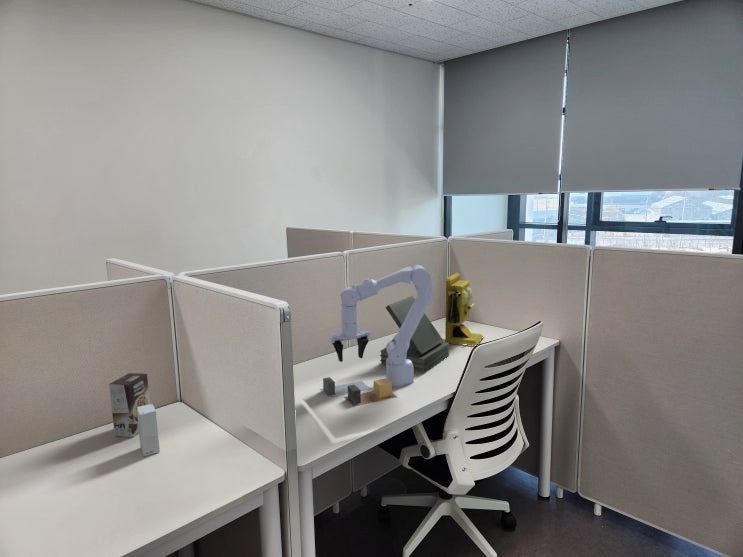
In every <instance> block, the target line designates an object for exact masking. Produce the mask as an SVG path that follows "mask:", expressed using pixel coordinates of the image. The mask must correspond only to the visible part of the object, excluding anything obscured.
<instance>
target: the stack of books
mask: <svg viewBox="0 0 743 557" xmlns="http://www.w3.org/2000/svg"><path fill="white" fill-rule="evenodd" d="M415 299H416V298H415V297H414V296H413V295H411V296H408V297H405V298H403V299H401V300H397V301H395V302H393V303H391V304H388V305H387V306H385V309H386V311H387V312H388V314H389V315H390V317H391V318H392V319H393V321H394V323H395V324H396V325H397V326H398V330H400V328H401V326H402V324H403V322H404V320H405V318H406V316H407V314H408V312H409V310H410V308H411V306H412V304H413V302H414V301H415ZM444 340H445V339H443V338H442V336H441V335H440V333H439V331H438V330H437V329H436V327H435V326H434V325H433V323H432V322H431V320H430V319H429V316H427V315H426V313H424V315H423V317H422V318H421V320H420V322H419V324H418V326H417V328H416V330H415V332H414V334H413V336H412V338H411V340H410V343H409V348H408V350H407V357H406V359H409V360H411V362H412V364H413V367H414V373H418V374H423V375H425V374H426V373H427V372H429V371H430V370H432V369H434V368H435V367H436V366H438V365H439V364H440V363H441V361H442V362H443V361H445V360H446V359H448V358H449V357H448V356H450V344H449V343H446V342H445V341H444ZM379 356H380V365H381V366H385V367H386V359H387V358H388V353H387V351H386V347H385V348H383V349H381V350H380V355H379ZM447 357H448V358H447ZM445 358H446V359H445ZM444 359H445V360H444ZM437 364H438V365H437ZM434 366H435V367H434Z"/></svg>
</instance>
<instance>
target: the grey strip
mask: <svg viewBox="0 0 743 557" xmlns="http://www.w3.org/2000/svg"><path fill="white" fill-rule="evenodd" d="M322 383H323V384H322V388H320V389H319V390H320V391H321V393H322V394H323V395H324V396H325V397H326V398H327V399H330V398H334V397H338V396H344V395H348V386H349V385H355V386H357V387H358V388H359V389H360V390H361V392H362V391H364V392H365V391H367V390H372V388H370V386H368V385H367V384H366V383H365V382H363V380H359V381H354V382H350V383H345V384H339V385H336V382H335V381H334V380H333V378H331V377H330V376H328V377H324V378H322Z"/></svg>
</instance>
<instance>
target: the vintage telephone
mask: <svg viewBox="0 0 743 557" xmlns="http://www.w3.org/2000/svg"><path fill="white" fill-rule="evenodd" d="M472 297H473V290H472V288H471V287H470V281H469V280H462V279H461V274H460V273H459V272H456V273H454V274H452V275H451V276H448V277H447V278H446V280H445V335H444V336H445V339H444V340H445V341H444V342H446V343H455V344H454V345H456V344H458V345H457V346H459V347H460V348H465V347H469V346H468V345H473V346H475V345H477V344H478V345H479V344H480V343H481V342H480V340H481V339H482V337H483V336H484V335H483V334H481V333H476V332H475V333H474V332H471V331H470V329H469V328H468V327H467V326H466V325H465V324H463V323H464V322H465V321H467V319H469V315H470V309H472V308H473V307H474V306H475V305H476V304H475V303H472V304H470V301H471V300H472ZM482 340H483V339H482ZM482 340H481V341H482ZM479 342H480V343H479ZM459 344H467V345H466V346H464V345H463V346H462V345H459ZM478 345H477V346H478Z"/></svg>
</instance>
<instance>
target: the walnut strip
mask: <svg viewBox="0 0 743 557" xmlns="http://www.w3.org/2000/svg"><path fill="white" fill-rule="evenodd" d="M394 398H398V396H397V394H395V393H393V392H392V396H387V397H383V398H379V397H378V396H377V395H375V394H374V390H372V391H367V392H362V391H361V390H360V389H359V388H358V387H357V386H355V385H349V386H348V394H347V396H344V399H345V400H346V401H347V402H348V403H349V404H350V405H351V406H352V407H357V406H361V405H362V406H363V405H366V404H371V403H376V402H381V401H385V400H390V399H394Z"/></svg>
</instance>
